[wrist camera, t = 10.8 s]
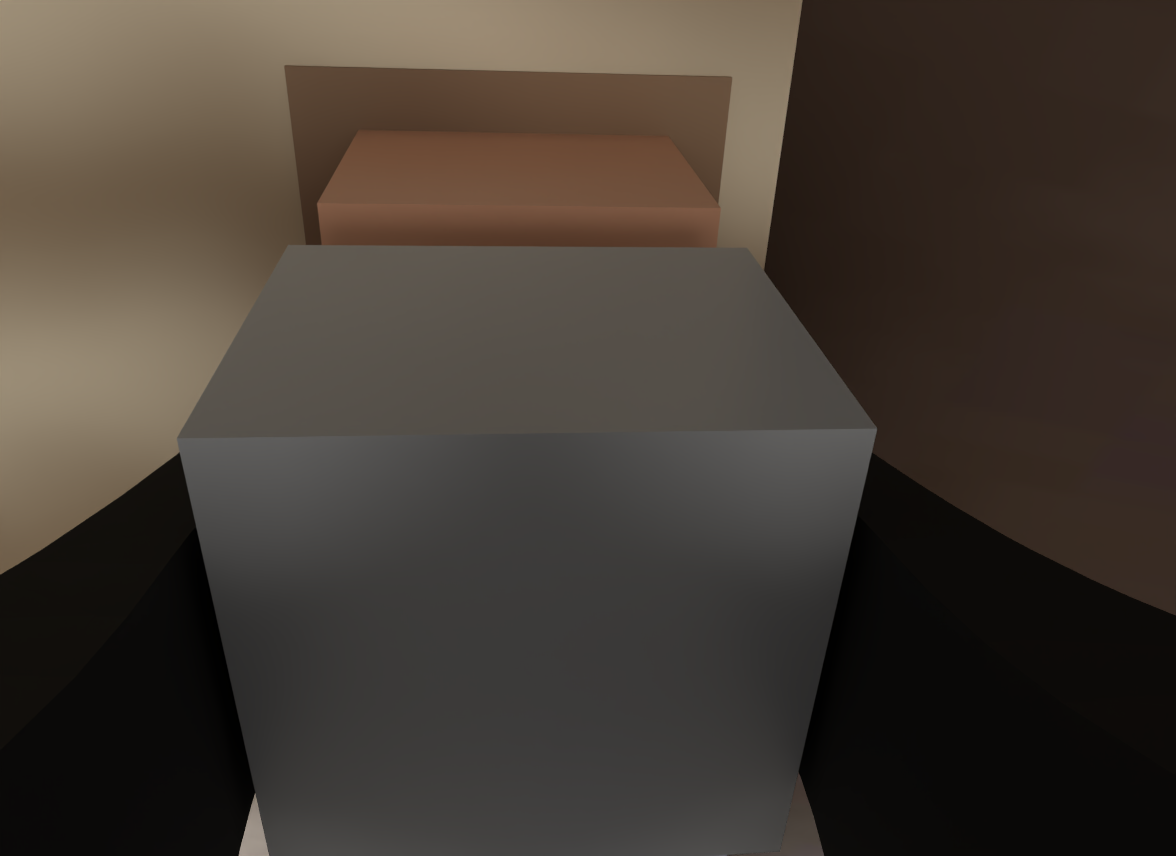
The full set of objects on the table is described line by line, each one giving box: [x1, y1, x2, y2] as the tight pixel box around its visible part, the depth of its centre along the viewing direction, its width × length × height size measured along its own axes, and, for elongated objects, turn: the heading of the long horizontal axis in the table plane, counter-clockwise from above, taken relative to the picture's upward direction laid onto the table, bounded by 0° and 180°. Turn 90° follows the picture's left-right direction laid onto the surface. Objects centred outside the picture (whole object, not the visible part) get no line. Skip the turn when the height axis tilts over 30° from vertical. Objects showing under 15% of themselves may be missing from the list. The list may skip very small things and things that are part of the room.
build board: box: [0, 0, 802, 574], centre depth 16 cm, size 23×15×1 cm, turn 178°
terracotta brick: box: [317, 130, 721, 248], centre depth 14 cm, size 5×5×4 cm
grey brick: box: [177, 245, 877, 856], centre depth 9 cm, size 5×5×4 cm
